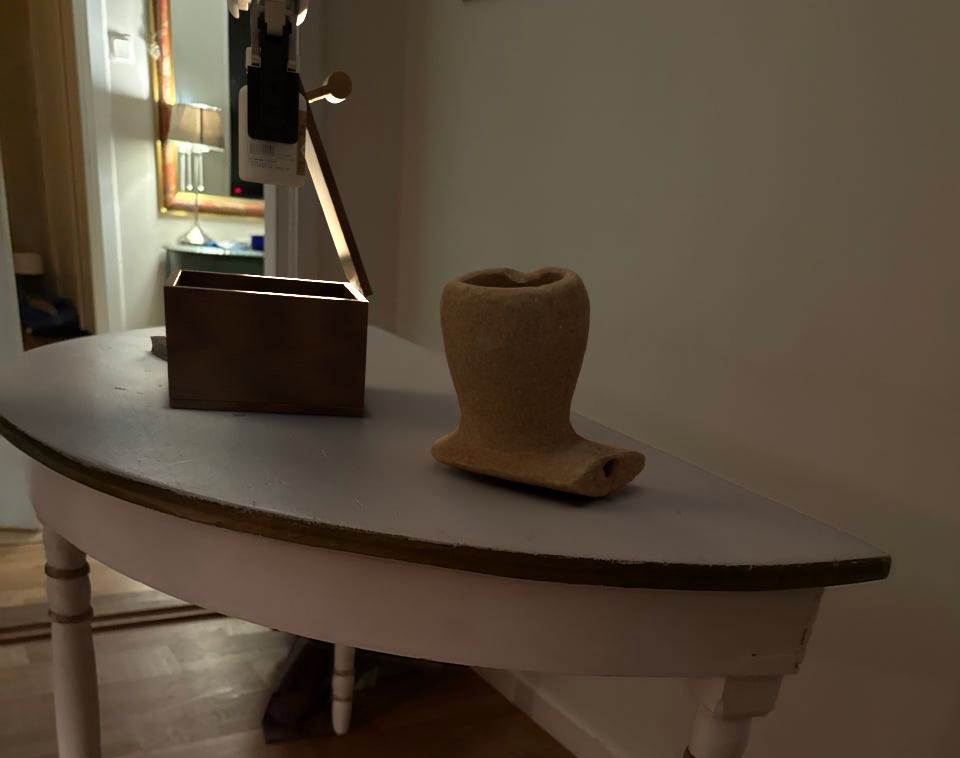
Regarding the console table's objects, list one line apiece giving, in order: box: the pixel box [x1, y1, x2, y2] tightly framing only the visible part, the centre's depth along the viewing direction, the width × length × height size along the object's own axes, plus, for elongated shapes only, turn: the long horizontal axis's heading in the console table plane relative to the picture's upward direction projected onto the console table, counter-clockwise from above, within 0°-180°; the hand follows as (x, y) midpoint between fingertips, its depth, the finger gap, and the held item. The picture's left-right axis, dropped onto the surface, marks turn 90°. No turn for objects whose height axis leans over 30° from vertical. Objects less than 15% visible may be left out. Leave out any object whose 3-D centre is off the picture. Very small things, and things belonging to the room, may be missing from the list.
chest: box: [162, 268, 370, 417], centre depth 83 cm, size 17×14×10 cm
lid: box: [299, 70, 374, 298], centre depth 79 cm, size 17×14×5 cm
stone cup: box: [430, 266, 646, 498], centre depth 65 cm, size 15×12×15 cm
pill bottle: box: [238, 46, 307, 188], centre depth 60 cm, size 4×4×8 cm
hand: (271, 138), depth 61 cm, fingers closed on pill bottle, 4 cm apart
